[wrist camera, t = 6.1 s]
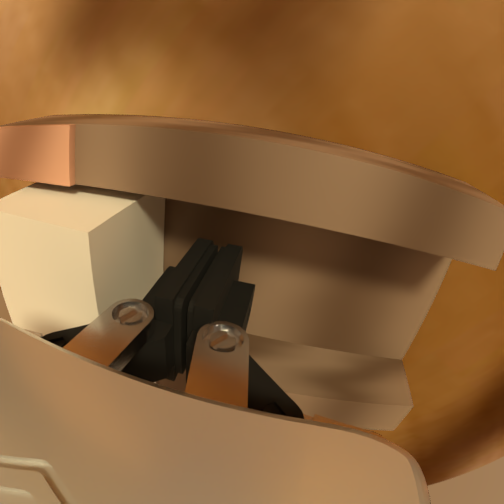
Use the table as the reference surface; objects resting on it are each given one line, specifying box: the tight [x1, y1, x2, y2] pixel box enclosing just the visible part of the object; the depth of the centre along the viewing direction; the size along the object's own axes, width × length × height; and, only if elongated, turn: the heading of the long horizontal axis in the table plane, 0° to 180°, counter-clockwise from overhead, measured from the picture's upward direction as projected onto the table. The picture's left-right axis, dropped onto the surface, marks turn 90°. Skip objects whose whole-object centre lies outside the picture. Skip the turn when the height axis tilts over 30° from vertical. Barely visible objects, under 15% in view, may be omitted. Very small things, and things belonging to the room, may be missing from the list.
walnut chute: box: [0, 114, 504, 431], centre depth 12 cm, size 19×11×4 cm, turn 82°
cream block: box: [0, 182, 165, 336], centre depth 11 cm, size 5×6×5 cm
